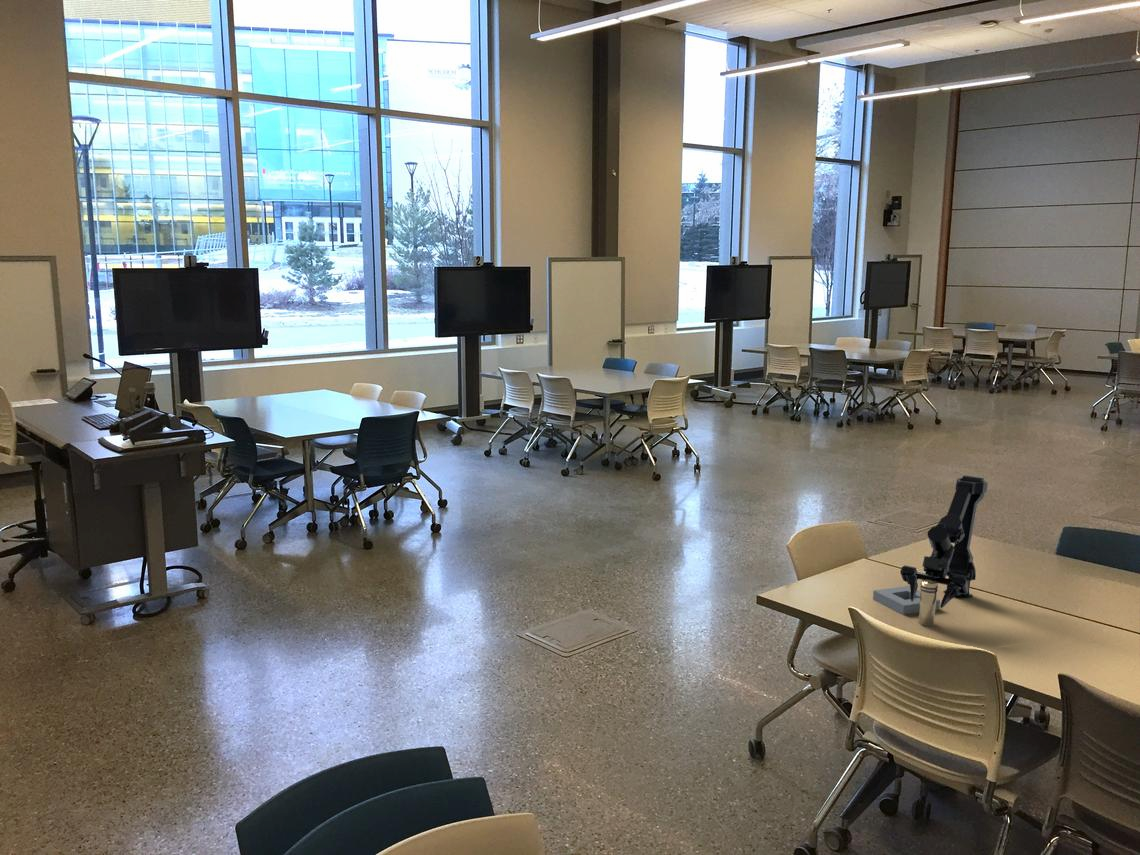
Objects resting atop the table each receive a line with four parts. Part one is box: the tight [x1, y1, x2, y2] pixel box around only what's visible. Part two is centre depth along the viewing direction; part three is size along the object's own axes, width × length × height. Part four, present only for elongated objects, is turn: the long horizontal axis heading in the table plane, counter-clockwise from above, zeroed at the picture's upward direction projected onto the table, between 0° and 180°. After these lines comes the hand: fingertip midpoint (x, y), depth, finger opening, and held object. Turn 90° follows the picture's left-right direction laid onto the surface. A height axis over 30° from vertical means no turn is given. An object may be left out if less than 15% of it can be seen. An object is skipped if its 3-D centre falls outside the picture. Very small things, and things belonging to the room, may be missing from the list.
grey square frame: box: [872, 585, 941, 616], centre depth 279 cm, size 14×14×3 cm
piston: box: [917, 580, 939, 628], centre depth 263 cm, size 5×5×13 cm
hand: (926, 604), depth 261 cm, fingers open, 8 cm apart
